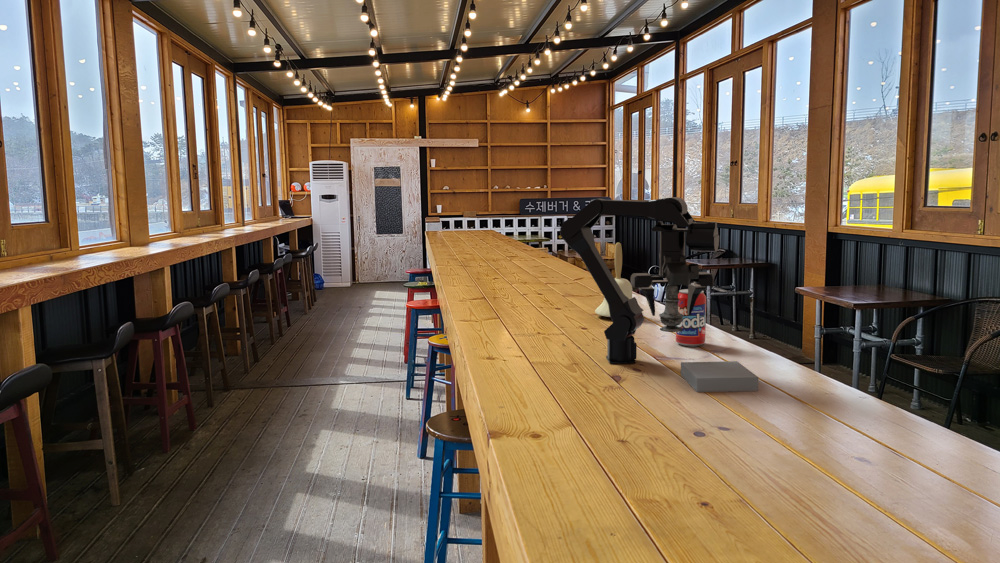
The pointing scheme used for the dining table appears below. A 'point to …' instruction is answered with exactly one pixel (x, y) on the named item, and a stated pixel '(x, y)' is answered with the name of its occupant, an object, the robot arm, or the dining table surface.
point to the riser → (719, 376)
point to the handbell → (622, 283)
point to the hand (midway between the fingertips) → (671, 315)
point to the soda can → (692, 320)
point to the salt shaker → (671, 311)
